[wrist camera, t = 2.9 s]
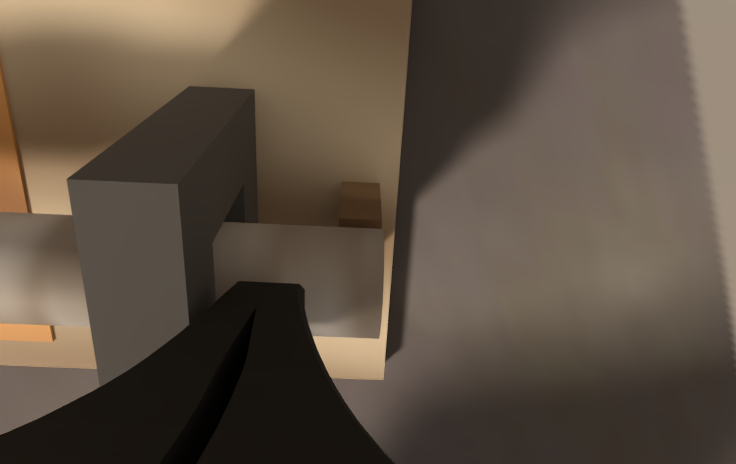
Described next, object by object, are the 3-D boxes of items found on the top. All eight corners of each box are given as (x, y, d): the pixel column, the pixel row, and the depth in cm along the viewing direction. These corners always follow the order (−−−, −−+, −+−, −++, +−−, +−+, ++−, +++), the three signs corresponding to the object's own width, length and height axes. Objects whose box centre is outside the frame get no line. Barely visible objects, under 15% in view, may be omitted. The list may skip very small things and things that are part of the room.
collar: (260, 323, 18) (205, 519, 12) (205, 321, 18) (120, 515, 12) (254, 89, 15) (177, 184, 9) (189, 86, 15) (66, 179, 9)
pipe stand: (382, 364, 20) (389, 514, 15) (-57, 346, 20) (-214, 494, 14) (412, -41, 15) (439, -37, 10) (-176, -74, 15) (-487, -89, 9)
